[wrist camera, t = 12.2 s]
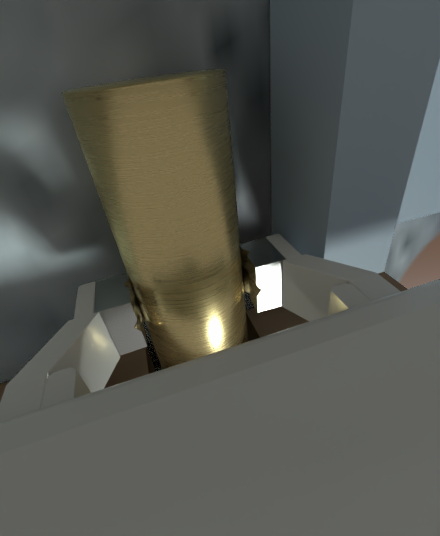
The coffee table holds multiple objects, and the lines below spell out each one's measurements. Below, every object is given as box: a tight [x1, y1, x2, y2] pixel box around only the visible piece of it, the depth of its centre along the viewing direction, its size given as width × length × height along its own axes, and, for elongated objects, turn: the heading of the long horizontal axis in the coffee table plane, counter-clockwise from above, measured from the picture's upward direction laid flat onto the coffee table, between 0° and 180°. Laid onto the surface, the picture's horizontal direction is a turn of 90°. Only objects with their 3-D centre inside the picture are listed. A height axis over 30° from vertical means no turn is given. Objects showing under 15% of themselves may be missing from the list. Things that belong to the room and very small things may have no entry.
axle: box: [61, 69, 248, 369], centre depth 11 cm, size 4×14×4 cm, turn 6°
